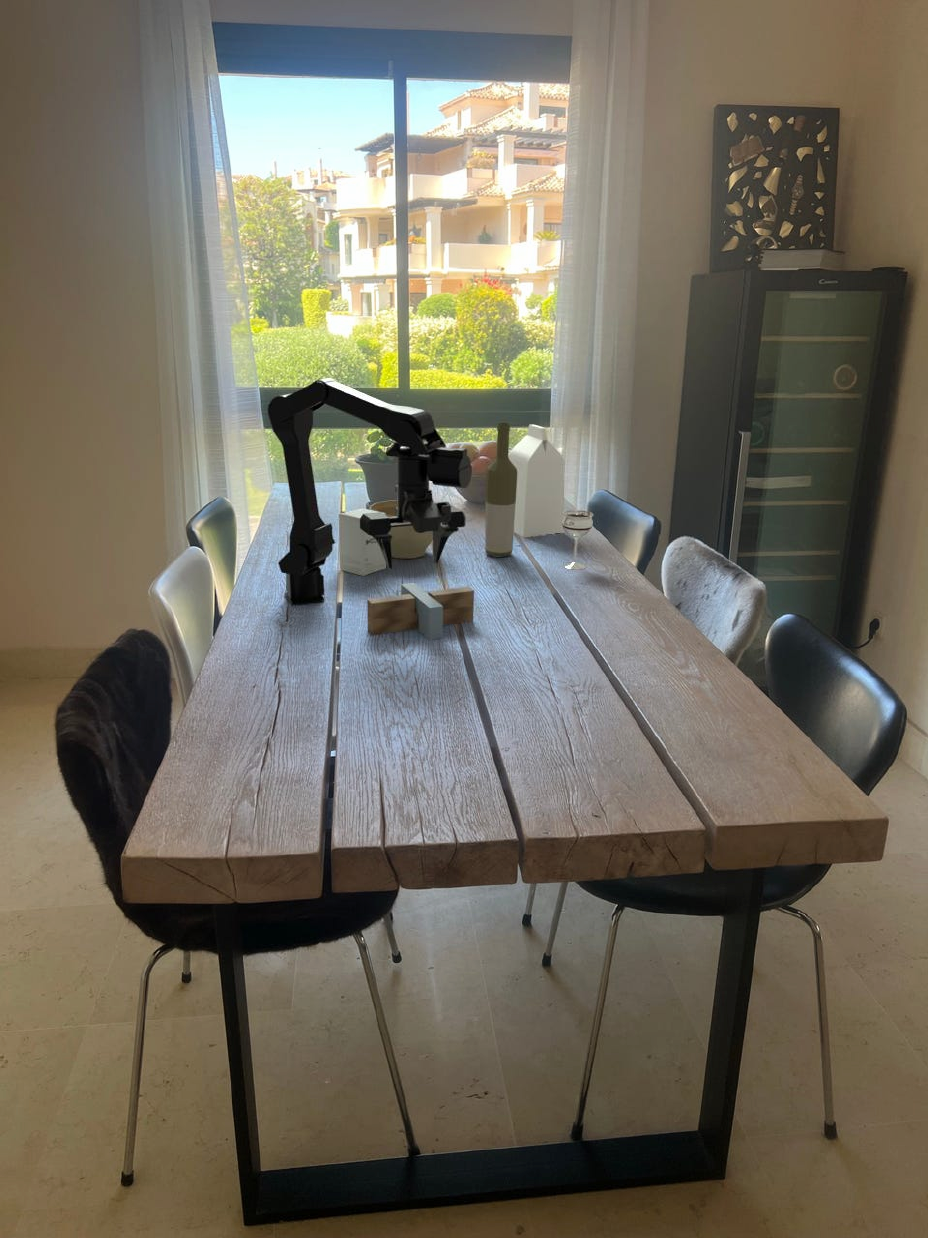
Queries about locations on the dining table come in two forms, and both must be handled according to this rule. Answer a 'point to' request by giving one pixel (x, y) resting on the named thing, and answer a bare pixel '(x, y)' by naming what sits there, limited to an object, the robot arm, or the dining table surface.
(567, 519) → the wineglass
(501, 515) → the bottle
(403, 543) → the planter bowl
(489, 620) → the dining table surface
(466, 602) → the walnut slotted plate
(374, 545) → the supplement box
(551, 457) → the milk
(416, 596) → the slate-blue slotted crosspiece
